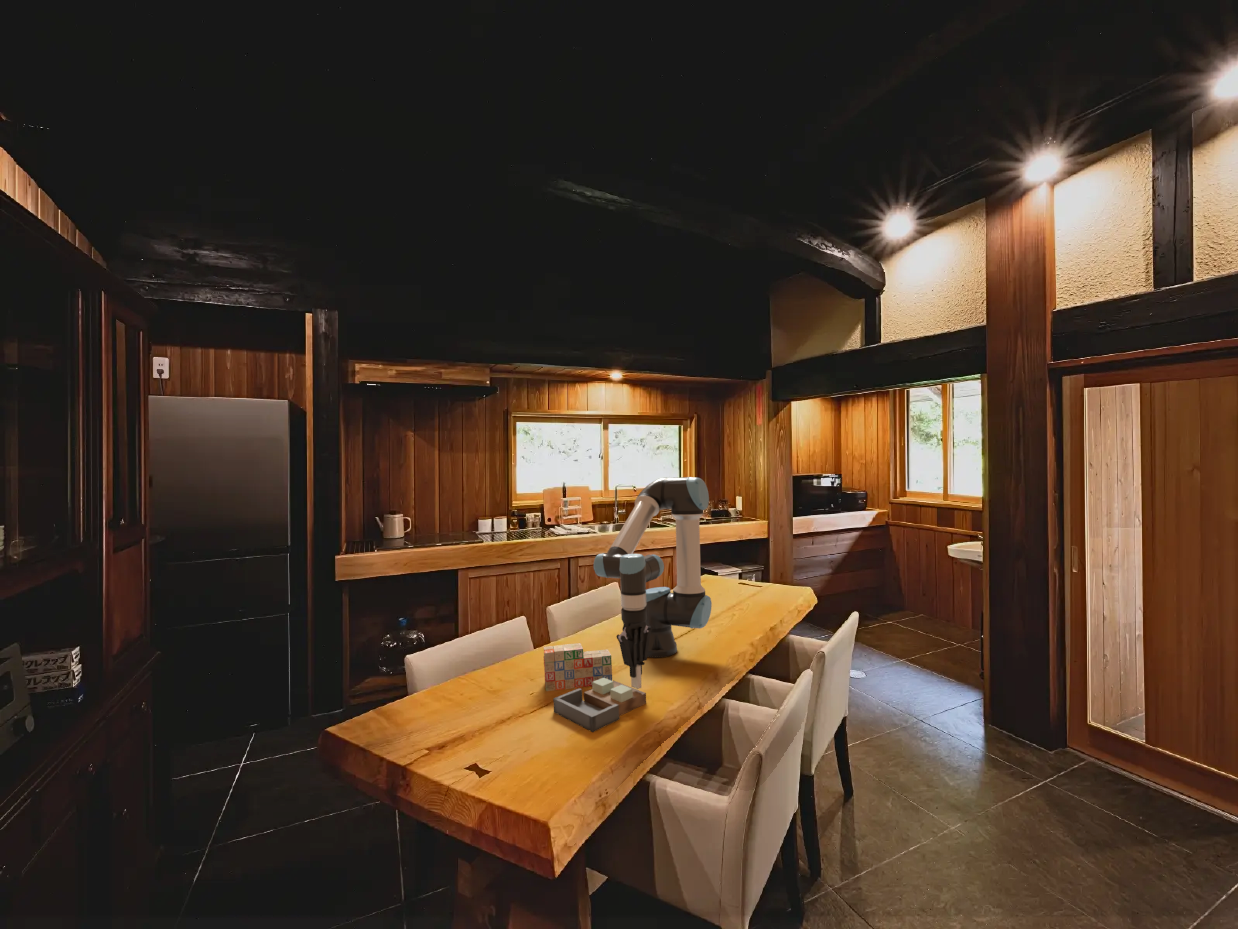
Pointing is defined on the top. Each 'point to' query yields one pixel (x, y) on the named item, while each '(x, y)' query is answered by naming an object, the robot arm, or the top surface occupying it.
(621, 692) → the tile
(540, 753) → the top surface
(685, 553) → the robot arm
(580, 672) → the stack of blocks
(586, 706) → the tray
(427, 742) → the top surface
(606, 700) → the board
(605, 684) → the tile
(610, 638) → the top surface
